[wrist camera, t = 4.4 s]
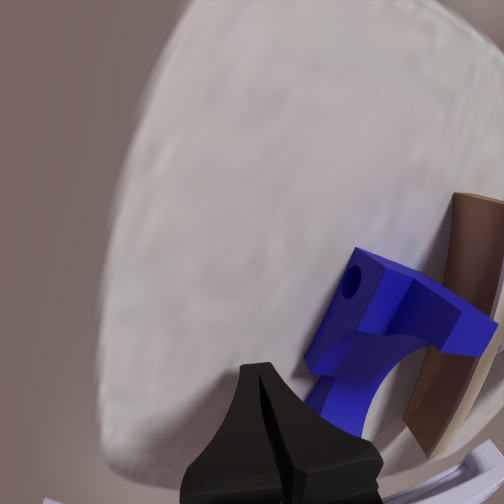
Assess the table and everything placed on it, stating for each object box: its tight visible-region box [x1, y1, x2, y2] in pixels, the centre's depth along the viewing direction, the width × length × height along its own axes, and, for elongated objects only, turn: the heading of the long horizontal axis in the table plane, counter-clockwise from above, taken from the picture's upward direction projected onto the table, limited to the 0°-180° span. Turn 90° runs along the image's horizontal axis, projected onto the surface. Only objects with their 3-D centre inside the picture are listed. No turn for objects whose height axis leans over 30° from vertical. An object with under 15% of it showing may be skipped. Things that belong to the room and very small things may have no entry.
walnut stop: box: [403, 193, 504, 459], centre depth 13 cm, size 2×16×4 cm, turn 3°
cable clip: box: [304, 247, 499, 438], centre depth 12 cm, size 12×4×6 cm, turn 161°
